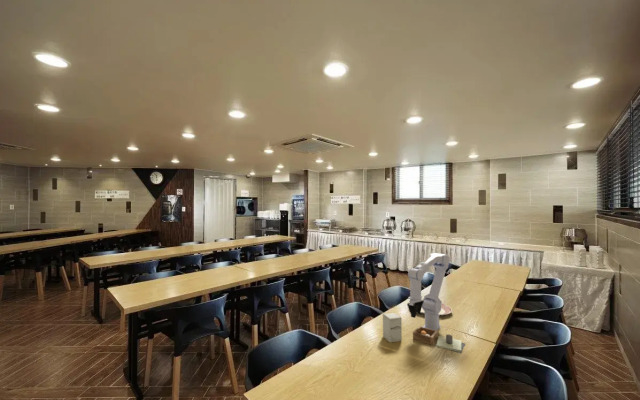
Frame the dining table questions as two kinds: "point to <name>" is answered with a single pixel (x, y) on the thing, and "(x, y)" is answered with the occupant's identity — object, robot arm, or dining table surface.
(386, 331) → the supplement box
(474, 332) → the dining table surface
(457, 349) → the lid
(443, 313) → the dinner plate
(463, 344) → the mat
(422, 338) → the box
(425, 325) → the robot arm
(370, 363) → the dining table surface
